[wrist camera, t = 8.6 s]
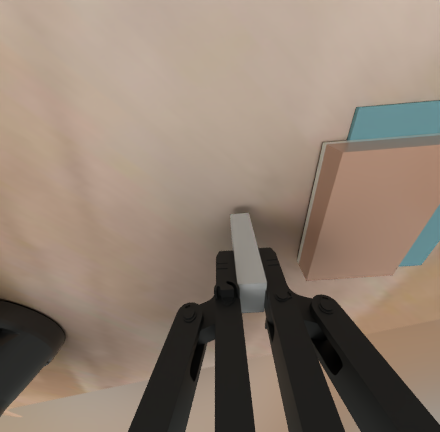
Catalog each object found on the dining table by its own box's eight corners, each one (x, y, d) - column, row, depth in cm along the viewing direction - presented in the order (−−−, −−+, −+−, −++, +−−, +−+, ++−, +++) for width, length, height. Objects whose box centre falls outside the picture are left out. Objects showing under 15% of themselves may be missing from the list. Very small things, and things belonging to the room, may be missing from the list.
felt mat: (309, 270, 21) (310, 272, 21) (356, 107, 12) (359, 107, 12) (418, 263, 21) (421, 265, 21) (545, 91, 12) (553, 91, 12)
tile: (306, 280, 18) (392, 275, 18) (343, 152, 11) (481, 141, 11) (297, 260, 20) (373, 255, 20) (323, 142, 13) (439, 133, 13)
